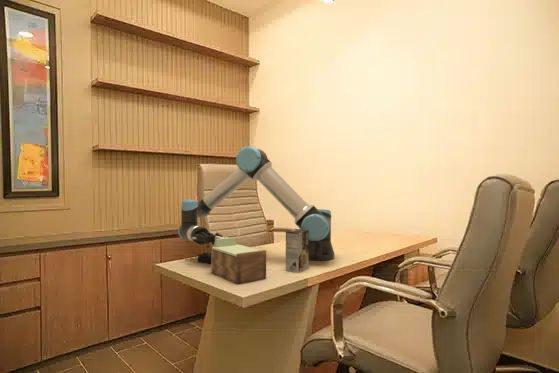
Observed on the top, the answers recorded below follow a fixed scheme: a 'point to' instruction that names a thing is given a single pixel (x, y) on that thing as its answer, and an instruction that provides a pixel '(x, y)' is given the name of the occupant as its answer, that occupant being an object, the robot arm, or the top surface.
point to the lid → (231, 246)
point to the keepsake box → (239, 266)
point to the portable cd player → (205, 258)
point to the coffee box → (297, 250)
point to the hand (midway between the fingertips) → (224, 241)
